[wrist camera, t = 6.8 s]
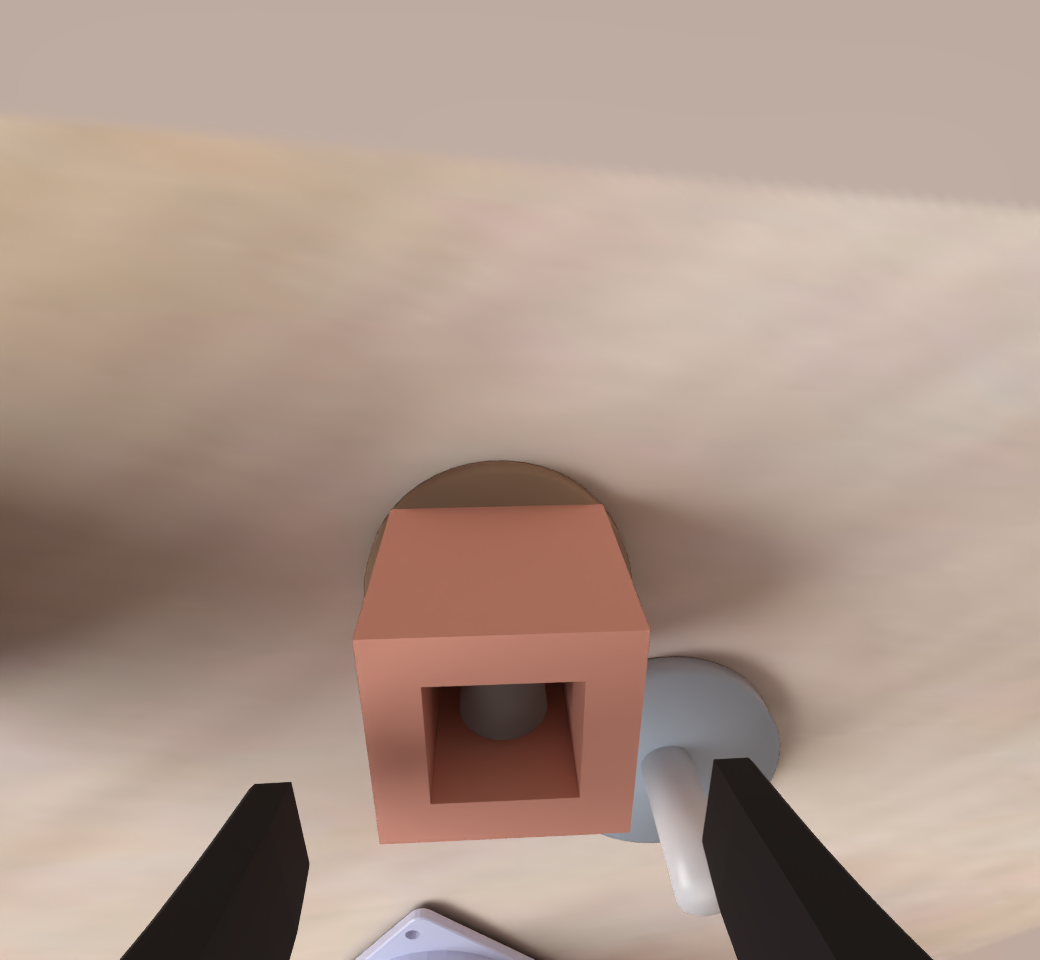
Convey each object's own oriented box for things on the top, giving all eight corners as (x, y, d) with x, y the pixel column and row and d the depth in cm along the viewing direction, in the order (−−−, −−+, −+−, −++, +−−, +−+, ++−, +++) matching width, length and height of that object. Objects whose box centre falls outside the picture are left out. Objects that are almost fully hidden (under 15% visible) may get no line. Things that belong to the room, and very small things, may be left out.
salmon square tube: (593, 670, 18) (629, 832, 13) (406, 676, 18) (379, 844, 13) (602, 504, 16) (650, 630, 11) (391, 509, 16) (352, 640, 11)
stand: (657, 849, 22) (698, 1008, 18) (505, 758, 20) (510, 914, 16) (813, 730, 21) (903, 877, 16) (663, 617, 18) (719, 750, 14)
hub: (511, 715, 20) (520, 866, 15) (317, 594, 17) (261, 729, 13) (678, 563, 18) (742, 686, 13) (481, 405, 16) (481, 490, 11)
